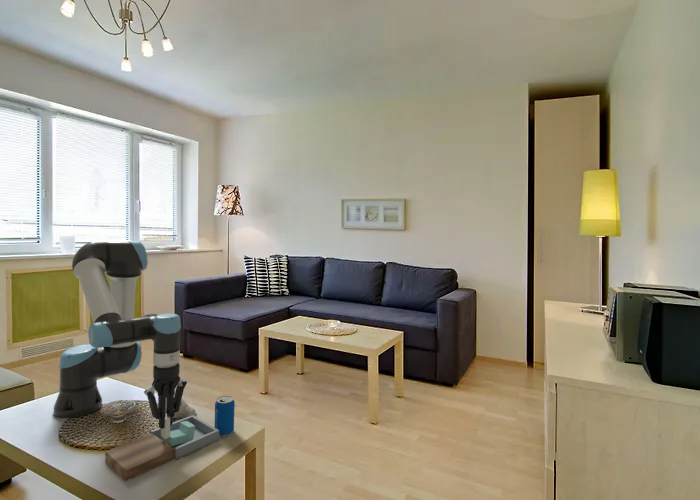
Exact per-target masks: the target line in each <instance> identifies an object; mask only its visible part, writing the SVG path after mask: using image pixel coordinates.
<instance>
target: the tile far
mask: <svg viewBox="0 0 700 500" xmlns="http://www.w3.org/2000/svg"><path fill="white" fill-rule="evenodd" d="M179 430H181V431H182V432H184V433H185V434H187V437H186V442H185V443H187V442H189V441H192V440H193V437H194V431H195V425H193V424H192V423H190V422H188V421H184V422H180V427H179Z"/></svg>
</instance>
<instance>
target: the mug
mask: <svg viewBox="0 0 700 500" xmlns="http://www.w3.org/2000/svg"><path fill="white" fill-rule="evenodd" d="M174 414H175V416H174V417H173V419H180V418H181V419H184V418H186V417H189V416H192V415H194V416H197V412H196V409H195V408H194V407H192V406H189V404H188V403H187V402H186V401H185V399H183V398H182V399H181V403H180V408H179V411H178V412H176V413H174Z"/></svg>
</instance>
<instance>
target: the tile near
mask: <svg viewBox="0 0 700 500" xmlns="http://www.w3.org/2000/svg"><path fill="white" fill-rule="evenodd" d="M186 437H187V434H185V433H184V432H182V431H181V430H179V429H178V430H174V431H170V437H169V438H167V439H164V438H163V441H164V442H166V443H167V444H168V445H170V446H174V445H178V444H181V443H185V442H186Z"/></svg>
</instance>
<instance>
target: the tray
mask: <svg viewBox="0 0 700 500" xmlns="http://www.w3.org/2000/svg"><path fill="white" fill-rule="evenodd" d="M184 421H188V422H190V423H192V424H193V425H195V431H194V437H193V440H192V441H189V442H187V443H181V444H178V445H174V446H171V447H172V448H173V449H175V459H174V460H176V461H177V460H180V459H182V458H184V457H186V456H189V455H191V454H193V453H195V452H198V451H199V450H201V449H204V448H206V447H208V446H210V445H213V444H215V443H217V442H219V441H220V436H219V430H218V429H216V428H215V427H214V426H213V425H211V424H209V423H207V421H204V420H203V419H201V418H199V417H197V415H192V416H189V417H186V418H181V419H179V420H176V421H172V422H173V423H172V425H171V426H170V431H174V430H178V429H179V427H180V422H184ZM152 433H153V434H154V435H155V436H157V437H158V438H160V439H161V440H162V441H163V437H162V436H161V428H159V427H158V428H155V429H151V431H150V434H152ZM165 443H166V442H165ZM166 444H167V443H166ZM169 446H170V445H169Z"/></svg>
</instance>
